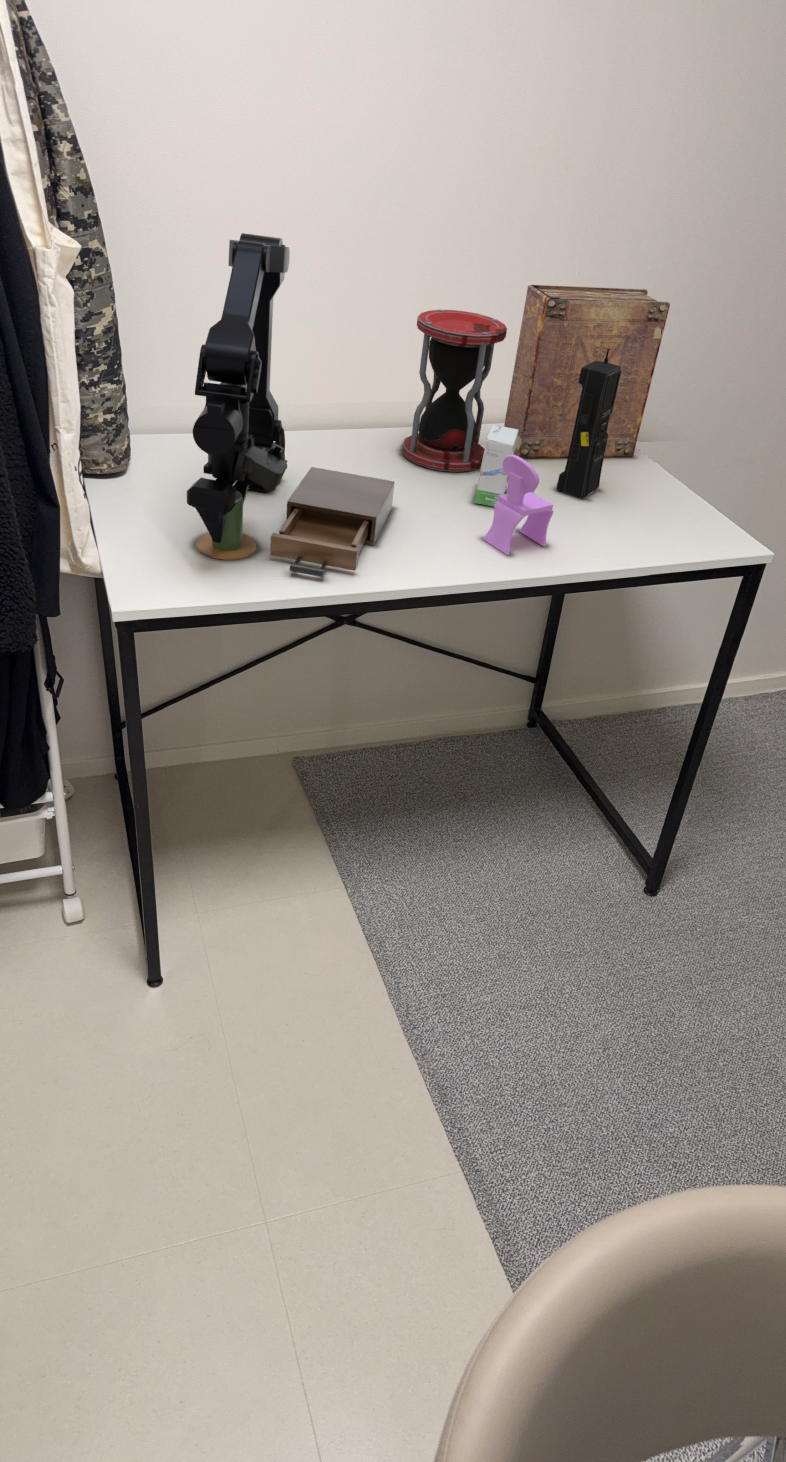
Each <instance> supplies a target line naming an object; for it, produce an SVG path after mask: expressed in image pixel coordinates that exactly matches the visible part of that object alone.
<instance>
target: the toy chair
mask: <svg viewBox="0 0 786 1462" xmlns="http://www.w3.org/2000/svg"><path fill="white" fill-rule="evenodd" d="M503 470H504V472H505V473H506V475H507V476H508V484H507V489H506V493H505V494H502V495H498V498H497V501H496V503H495V506H494V507H493V520H492V524H491V526H490V528H489V529H488V531H487V533H486V534H485V536H484V537H483V541H485V542H486V543H488V544H489V545H491V546H493V547H494V548H496V549H497V550H499V551H501V552H502V553H504V554H505V555H506V556H509V555H510V552H511V541H512V536H513V533H514V531H515V529H516V528H517V526H518V525H520V522H521V521H522V520H523V519H524V518H525V517H527V518H526V519H525V522H524V523H523V525H522V526H521V528H519V532H520V533H521V534H523V535H524V536H526V537H528V538H529V539H530V540H531V539H532V541H534V542H536V543H537V544H539V545H541V546H542V547H546V545H547V535H548V534H547V533H548V528H549V524H550V522H551V519H552V517H553V515H554V510H553V508H554V504H553V503H551V502H549V501H547V500H545V499H544V498H542V497H540V496H538V495H537V494H535V491H536V489H537V488H538V487H539V484H540V477H539V474H538V472H537V470H536V469H535V468H534V466H532V465H531V464H530V463H529V462H528V461H526V460H525V458H520V457H518V456H517V455H516V454H514V455H512V454H511V455H507V456H506V457H505V458H504V460H503Z"/></svg>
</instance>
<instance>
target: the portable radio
mask: <svg viewBox="0 0 786 1462" xmlns="http://www.w3.org/2000/svg"><path fill="white" fill-rule="evenodd" d="M609 350H610V349H609V348H607V354H606V358H604V362H602V361H594V362H592V363H590V364H588V365H586V366H584V367H582V368H581V372H580V377H579V382H578V383H580V384H581V385H582V392H581V397H580V402H579V406H578V411H577V416H576V421H575V425H574V430H573V435H572V440H571V444H570V449H569V454H568V458H566V462H565V463H566V464H565V468H564V471H562V472H561V473H559V475H558V478H557V479H558V480H557V483H556V490H558V491H559V492H562V493H564V494H567V495H570V496H573V497H576V498H579V499H581V500H582V499H583V500H584V499H585V498H586V497H587V496H589V495H590V494H592V493H593V492H595V491H596V490H597V489H599V488H600V483H601V476H602V470H603V464H604V459H605V458H604V454H605V449H606V444H607V439H608V433H607V428H608V423H609V418H610V415H611V414H612V411H613V406H614V402H615V397H616V393H617V388H618V384H619V379H620V375H621V369H620V366H618V365H614V364H610V363H608V353H609Z"/></svg>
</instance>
